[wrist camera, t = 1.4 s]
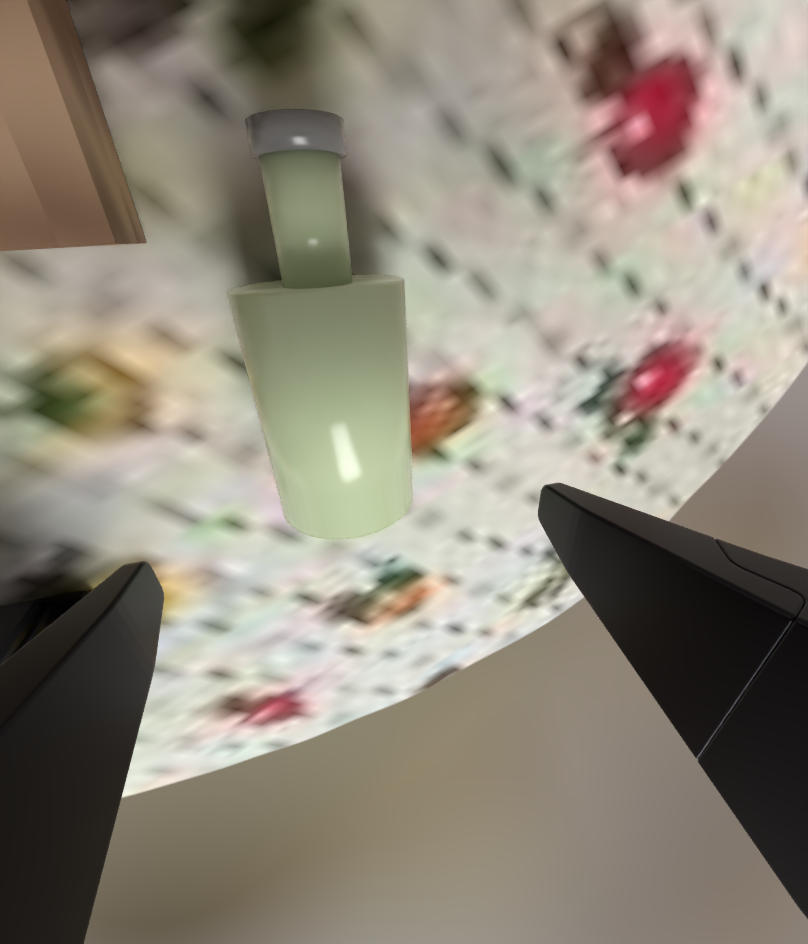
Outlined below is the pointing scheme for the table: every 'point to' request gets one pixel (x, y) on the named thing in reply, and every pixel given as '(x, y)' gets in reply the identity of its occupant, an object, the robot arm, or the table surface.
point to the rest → (55, 139)
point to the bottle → (324, 343)
